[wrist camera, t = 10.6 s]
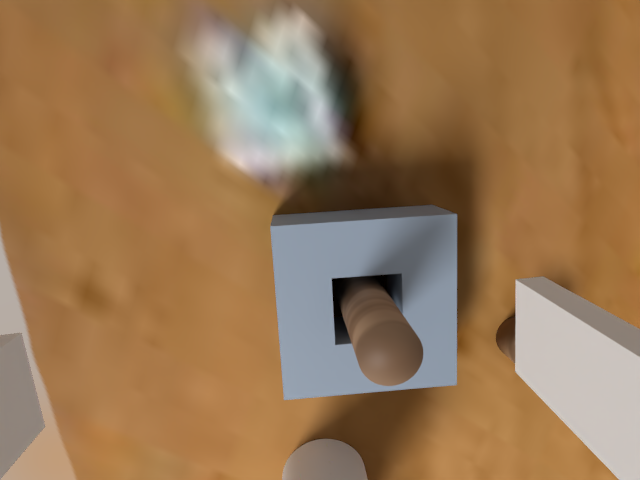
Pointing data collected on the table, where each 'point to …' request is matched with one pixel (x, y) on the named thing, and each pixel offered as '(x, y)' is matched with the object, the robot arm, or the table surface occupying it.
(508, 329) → the short dowel
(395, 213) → the socket block
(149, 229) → the table surface
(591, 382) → the robot arm
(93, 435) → the table surface
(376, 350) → the long dowel
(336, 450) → the cup
